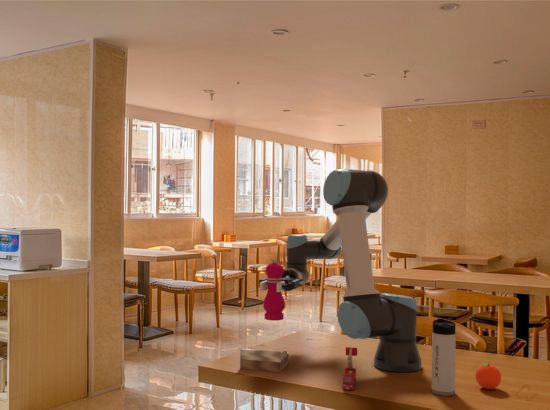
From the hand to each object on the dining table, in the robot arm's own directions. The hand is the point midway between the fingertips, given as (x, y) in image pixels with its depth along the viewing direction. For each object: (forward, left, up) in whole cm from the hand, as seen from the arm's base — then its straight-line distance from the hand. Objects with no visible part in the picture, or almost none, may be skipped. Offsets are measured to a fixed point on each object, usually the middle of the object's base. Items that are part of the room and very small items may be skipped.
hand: (269, 287), depth 189 cm
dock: (+1, 0, -25) cm, 25 cm away
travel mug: (-54, +11, -26) cm, 61 cm away
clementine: (-66, +3, -26) cm, 71 cm away
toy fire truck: (-28, +11, -26) cm, 39 cm away
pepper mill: (0, -5, -11) cm, 12 cm away
